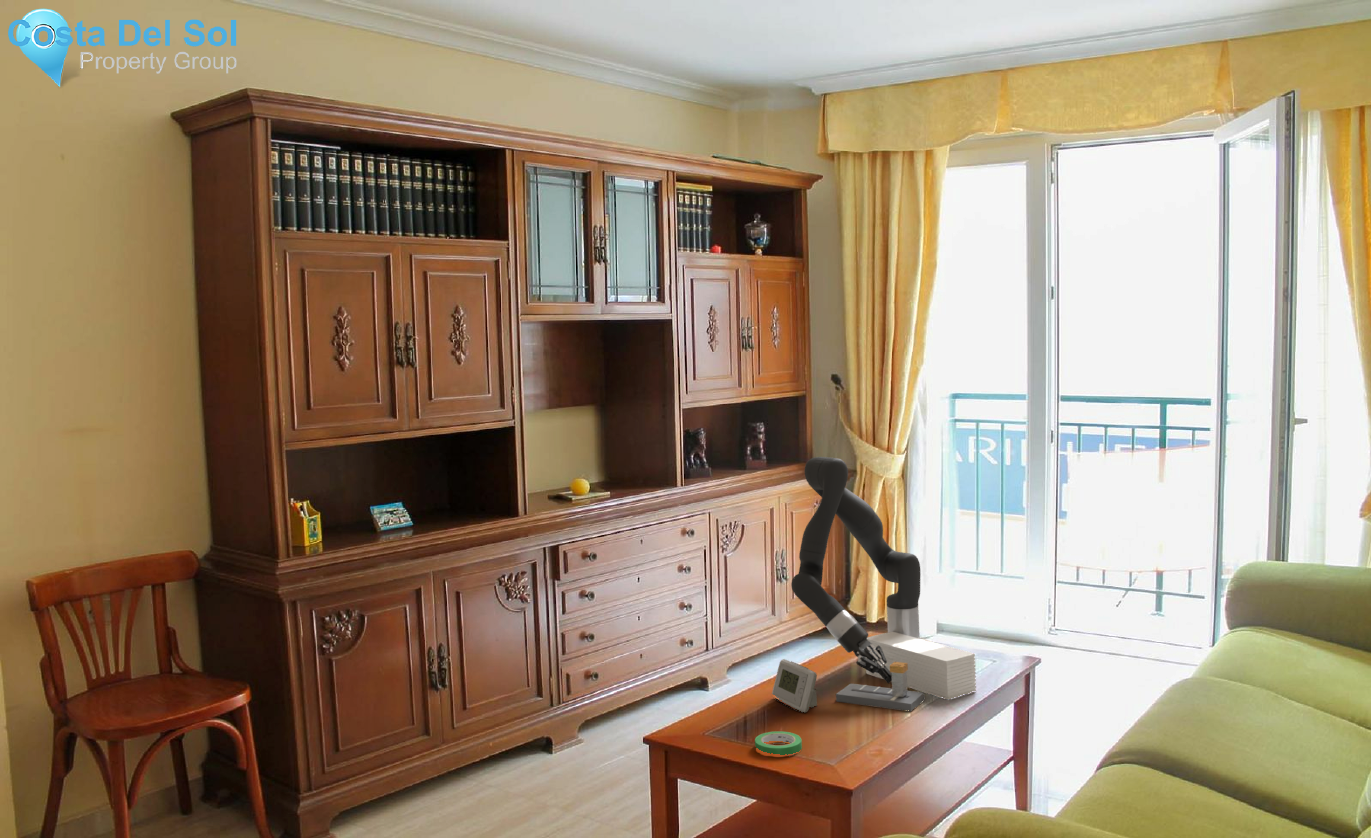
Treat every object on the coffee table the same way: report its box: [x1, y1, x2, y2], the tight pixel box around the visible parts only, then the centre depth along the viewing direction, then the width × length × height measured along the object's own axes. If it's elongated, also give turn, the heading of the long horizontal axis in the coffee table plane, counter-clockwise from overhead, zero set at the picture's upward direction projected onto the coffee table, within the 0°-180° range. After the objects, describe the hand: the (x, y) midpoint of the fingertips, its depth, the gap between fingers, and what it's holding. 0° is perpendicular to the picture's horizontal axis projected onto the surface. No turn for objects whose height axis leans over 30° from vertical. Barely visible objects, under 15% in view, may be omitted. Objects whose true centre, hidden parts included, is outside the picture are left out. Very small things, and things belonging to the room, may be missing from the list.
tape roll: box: [754, 730, 803, 755], centre depth 251 cm, size 11×11×3 cm
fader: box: [890, 662, 908, 697], centre depth 278 cm, size 4×4×8 cm
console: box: [835, 683, 926, 712], centre depth 281 cm, size 10×21×2 cm, turn 58°
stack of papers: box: [865, 631, 977, 700], centre depth 295 cm, size 32×11×11 cm, turn 32°
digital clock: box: [771, 658, 818, 713], centre depth 282 cm, size 16×9×11 cm, turn 16°
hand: (891, 680), depth 279 cm, fingers closed
